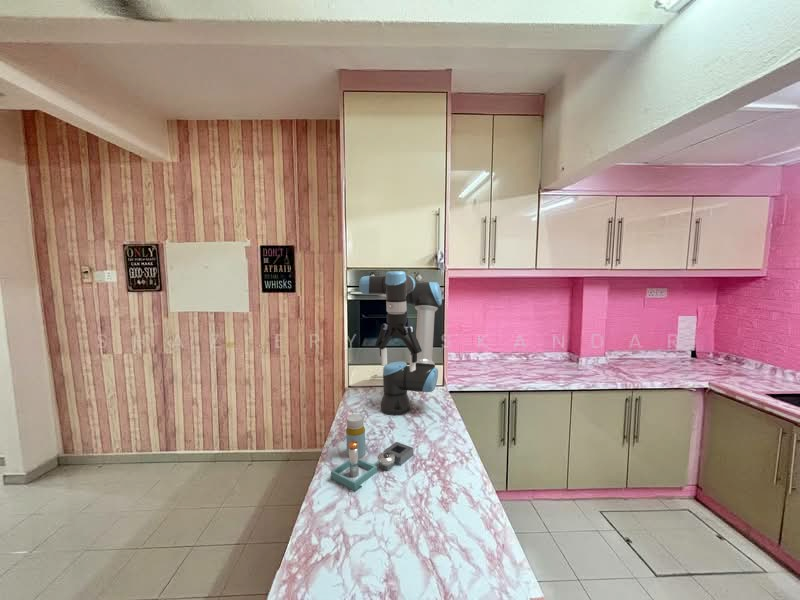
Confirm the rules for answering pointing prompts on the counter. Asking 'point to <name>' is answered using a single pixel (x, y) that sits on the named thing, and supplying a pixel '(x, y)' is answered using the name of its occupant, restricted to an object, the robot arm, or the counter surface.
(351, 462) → the pin
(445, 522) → the counter surface
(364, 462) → the tray
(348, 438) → the bottle
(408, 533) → the counter surface
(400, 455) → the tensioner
